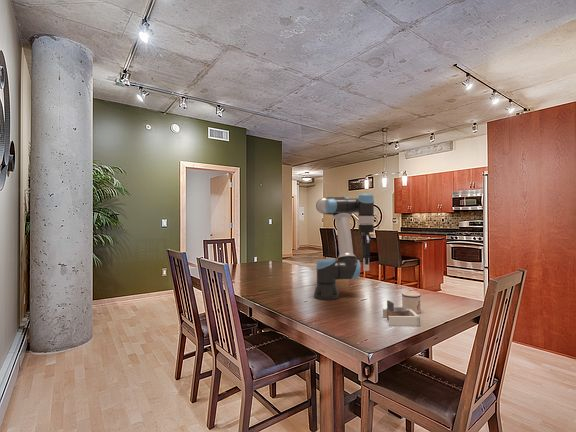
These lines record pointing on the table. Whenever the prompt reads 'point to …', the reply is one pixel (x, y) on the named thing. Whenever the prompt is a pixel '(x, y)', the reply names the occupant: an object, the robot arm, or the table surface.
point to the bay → (403, 319)
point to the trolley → (395, 310)
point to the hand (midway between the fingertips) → (366, 270)
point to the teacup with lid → (411, 300)
